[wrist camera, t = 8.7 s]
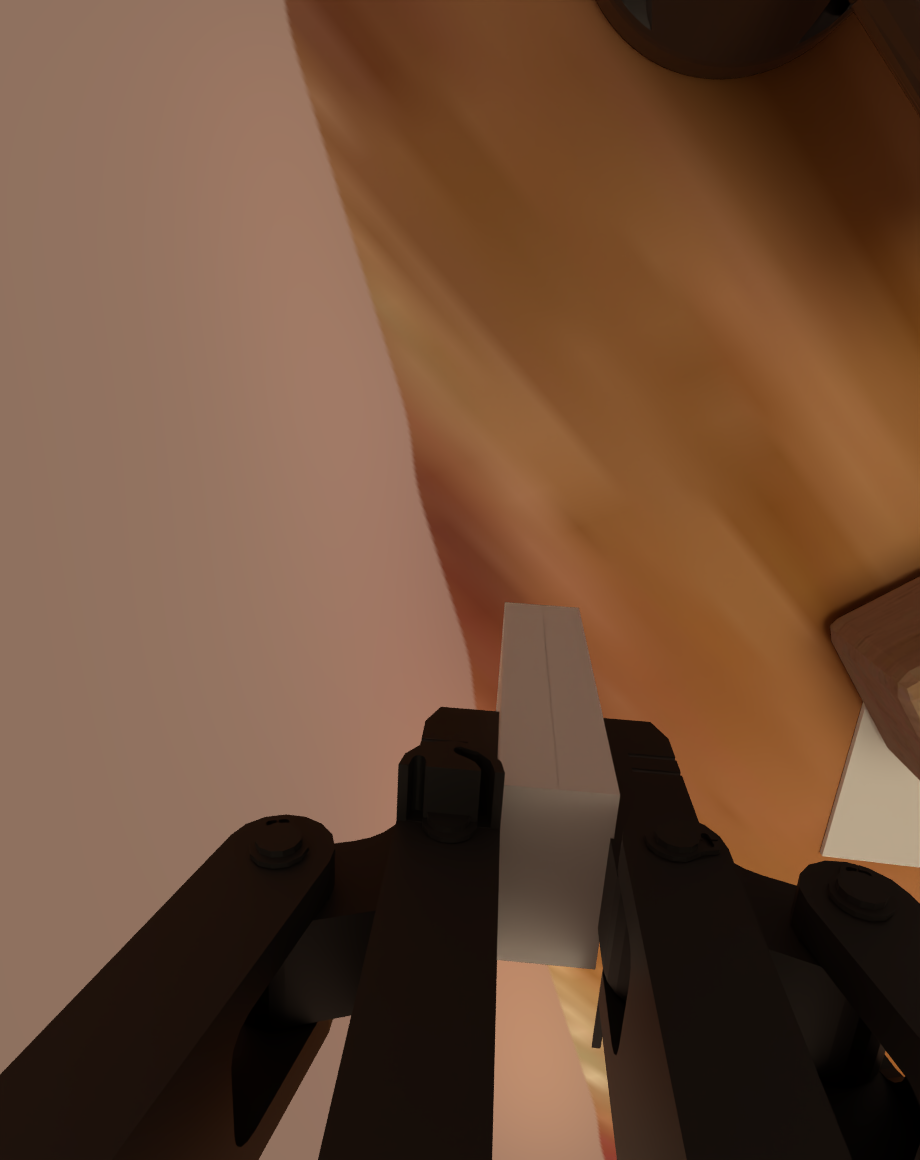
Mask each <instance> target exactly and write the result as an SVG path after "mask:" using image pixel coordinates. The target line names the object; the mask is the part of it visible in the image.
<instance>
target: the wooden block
mask: <svg viewBox="0 0 920 1160" xmlns="http://www.w3.org/2000/svg"><path fill="white" fill-rule="evenodd" d="M830 631H831V641H832V643H833V645H834V647H835V649H836V651H837V653H838V655H839V656H840V658H841V660H842V662H843V664H844V666H845V668H846V670H847V672H848V674H849V676H850V677H851V679H852V681H853V683H854V685H855V687H856V689H857V691H858V693H859V695H860V697H861V698H862V700H863V702H864V704H865V706H866V708H867V710H868V712H869V714H870V716H871V718H872V719H873V721H874V723H875V725H876V727H877V729H878V731H879V733H880V735H881V737H882V739H883V740H884V742H885V744H886V746H887V748H888V749H889V750H890V751H891V752H892V753H893V754H894V755H895V756H896V757H897V758H898V759H899V760H900V761H901V762H902V763H903V764H904V765H905V766H906V767H907V768H908V769H909V770H910V771H911V772H912V773H913V774H914V775H915V776H916V777H917V778H918V779H919V780H920V576H919V577H917V578H915V579H913V580H912V581H910V582H908V583H906V584H904V585H902V586H900V587H898V588H896V589H894V590H892V591H890V592H888V593H886V594H884V595H882V596H880V597H878V598H876V599H874V600H873V601H871V602H869V603H867V604H865V605H863V606H861V607H859V608H857V609H855V610H853V611H851V612H849V613H847V614H845V615H843V616H841V617H839V618H837V619H836V620H835V621H834V622H833V623H832V624H831V625H830Z"/></svg>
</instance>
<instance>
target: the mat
mask: <svg viewBox="0 0 920 1160" xmlns="http://www.w3.org/2000/svg"><path fill="white" fill-rule="evenodd" d="M820 853H821V855H822V856H827V857H835V858H844V859H852V860H861V861H869V862H878V863H886V864H895V865H903V866H912V867H920V780H919V779H918V778H917V777H916V776H915V775H914V774H913V773H912V772H911V771H910V770H909V769H908V768H907V767H906V766H905V765H904V764H903V763H902V762H901V761H900V760H899V759H898V758H897V757H896V756H895V755H894V754H893V753H892V752H891V751H890V750H889V749H888V748H887V746H886V744H885V742H884V740H883V739H882V737H881V735H880V733H879V731H878V729H877V727H876V725H875V723H874V721H873V719H872V718H871V716H870V714H869V712H868V710H867V708H866V706H865V704H864V702H863V704H862V708H861V711H860V714H859V718H858V721H857V725H856V728H855V732H854V735H853V739H852V742H851V746H850V749H849V753H848V756H847V760H846V763H845V767H844V770H843V774H842V777H841V780H840V784H839V787H838V791H837V794H836V798H835V801H834V805H833V808H832V812H831V815H830V819H829V822H828V826H827V829H826V833H825V836H824V839H823V843H822V846H821V850H820Z"/></svg>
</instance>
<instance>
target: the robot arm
mask: <svg viewBox="0 0 920 1160" xmlns="http://www.w3.org/2000/svg"><path fill="white" fill-rule="evenodd" d="M596 1H597V3H598V5H599V7H600V8H601V10H602V12H603V13H604V15H605V16H606V18H607V19H608V21H609V22H610V23H611V25H612V26H613V27H614V28H615V30H616V31H617V32H618V33H619V34H620V35H621V36H622V37H623V39H624V40H625V41H627V42H628V43H629V44H630V45H631V46H632V47H633V48H634V49H636V50H637V51H638V52H640V53H641V54H642V55H644V56H645V57H647V58H648V59H650V60H651V61H653V62H655V63H657V64H659V65H661V66H663V67H665V68H667V69H670V70H672V71H675V72H678V73H681V74H684V75H689V76H693V77H699V78H706V79H731V78H740V77H745V76H750V75H755V74H758V73H762V72H765V71H768V70H771V69H773V68H776V67H778V66H781V65H783V64H785V63H787V62H789V61H791V60H793V59H795V58H796V57H798V56H800V55H801V54H803V53H805V52H806V51H808V50H809V49H811V48H812V47H813V46H815V45H816V44H817V43H819V42H820V41H821V40H823V39H824V38H825V37H826V36H827V35H828V34H830V33H831V32H832V31H833V30H834V29H835V28H836V27H837V26H838V25H840V24H841V23H842V22H843V21H844V20H845V19H846V18H847V17H848V16H849V15H850V14H851V13H852V12H853V11H854V13H855V15H856V16H857V18H858V19H859V21H860V23H861V24H862V26H863V27H864V29H865V31H866V32H867V34H868V35H869V37H870V39H871V40H872V42H873V43H874V45H875V47H876V48H877V50H878V51H879V53H880V55H881V56H882V58H883V59H884V61H885V63H886V64H887V66H888V67H889V69H890V71H891V72H892V74H893V75H894V77H895V79H896V80H897V82H898V83H899V85H900V86H901V88H902V90H903V91H904V93H905V94H906V96H907V98H908V99H909V101H910V102H911V104H912V106H913V107H914V109H915V110H916V112H917V114H918V115H919V117H920V0H596ZM397 798H398V799H397V821H396V824H395V825H394V826H393V827H391V828H390V829H388V830H387V831H385V832H383V833H381V834H378V835H376V836H373V837H371V838H367V839H362V840H357V841H351V842H343V843H336V844H334V841H333V836H332V834H331V833H330V832H329V831H328V830H327V829H326V828H325V827H324V825H322V824H321V823H319V822H317V821H314V820H312V819H309V818H307V817H302V816H294V815H278V816H271V817H264V818H261V819H259V820H256V821H253V822H251V823H248V824H245V825H244V826H243V827H241V828H240V829H239V830H237V831H236V832H234V833H233V834H232V835H231V836H230V837H229V838H228V839H227V840H226V841H225V842H224V843H223V844H222V845H221V846H220V847H219V848H218V849H217V850H216V851H215V852H214V853H213V854H212V855H211V856H210V857H209V858H208V859H207V860H206V861H205V863H204V864H203V865H202V866H201V867H200V868H199V869H198V870H197V871H196V872H195V873H194V874H193V875H192V876H191V877H190V878H189V879H188V880H187V881H186V882H185V883H184V884H183V885H182V886H181V888H179V890H178V891H177V892H176V893H175V894H174V895H173V896H172V897H171V898H170V899H169V900H168V901H167V902H166V903H165V904H164V905H163V906H162V907H161V908H160V909H159V910H158V911H157V912H156V913H155V915H154V916H153V917H152V918H151V919H150V920H149V921H148V922H147V923H146V924H145V925H144V926H143V927H142V928H141V929H140V930H139V931H138V932H137V933H136V934H135V935H134V936H133V937H132V938H131V939H130V941H128V942H127V943H126V945H125V946H124V947H123V948H122V949H121V950H120V951H119V952H118V953H117V954H116V955H115V956H114V957H113V958H112V959H111V960H110V961H109V962H108V963H107V964H106V965H105V966H104V967H103V968H102V969H101V970H100V972H99V973H98V974H97V975H96V976H95V977H94V978H93V979H92V980H91V981H90V982H89V983H88V984H87V985H86V986H85V987H84V988H83V989H82V990H81V991H80V992H79V993H78V994H77V995H76V996H75V997H74V999H73V1000H72V1001H71V1002H70V1003H69V1004H68V1005H67V1006H66V1007H65V1008H64V1009H63V1010H62V1011H61V1012H60V1013H59V1014H58V1015H57V1016H56V1017H55V1018H54V1019H53V1020H52V1021H51V1022H50V1023H49V1024H48V1026H47V1027H46V1028H45V1029H44V1030H43V1031H42V1032H41V1033H40V1034H39V1035H38V1036H37V1037H36V1038H35V1039H34V1040H33V1041H32V1042H31V1043H30V1044H29V1045H28V1046H27V1047H26V1048H25V1049H24V1050H23V1052H22V1053H21V1054H20V1055H19V1056H18V1057H17V1058H16V1059H15V1060H14V1061H13V1062H12V1063H11V1064H10V1065H9V1066H8V1067H7V1068H6V1069H5V1070H4V1071H3V1072H2V1073H1V1074H0V1160H259V1158H260V1156H261V1154H262V1152H263V1151H264V1148H265V1147H266V1145H267V1143H268V1141H269V1139H270V1138H271V1136H272V1134H273V1132H274V1131H275V1129H276V1127H277V1125H278V1123H279V1122H280V1120H281V1118H282V1116H283V1114H284V1113H285V1111H286V1109H287V1107H288V1105H289V1104H290V1102H291V1100H292V1098H293V1096H294V1095H295V1093H296V1091H297V1089H298V1087H299V1085H300V1084H301V1082H302V1080H303V1078H304V1076H305V1075H306V1073H307V1071H308V1069H309V1067H310V1066H311V1064H312V1062H313V1060H314V1058H315V1056H316V1055H317V1053H318V1051H319V1049H320V1047H321V1046H322V1044H323V1042H324V1040H325V1038H326V1037H327V1035H328V1033H329V1030H330V1027H331V1023H332V1020H333V1019H334V1018H339V1017H345V1016H350V1015H351V1019H350V1024H349V1028H348V1032H347V1037H346V1041H345V1046H344V1050H343V1054H342V1059H341V1063H340V1067H339V1071H338V1076H337V1080H336V1084H335V1089H334V1093H333V1097H332V1102H331V1106H330V1111H329V1114H328V1119H327V1123H326V1127H325V1132H324V1136H323V1140H322V1145H321V1149H320V1153H319V1158H318V1160H492V1139H493V1099H494V1057H495V1016H496V976H497V960H504V961H515V962H525V963H536V964H545V965H555V966H566V967H576V968H586V969H595V967H596V960H597V953H598V946H599V942H600V950H601V957H602V965H603V972H602V978H601V985H600V992H599V999H598V1006H597V1012H596V1019H595V1026H594V1033H593V1041H592V1048H600V1047H601V1041H602V1037H603V1045H604V1054H605V1062H606V1071H607V1079H608V1088H609V1096H610V1104H611V1113H612V1121H613V1130H614V1138H615V1147H616V1155H617V1160H920V903H918V902H917V901H916V900H915V899H914V898H913V897H912V896H911V895H910V894H909V893H908V892H907V891H905V890H904V889H903V888H901V887H900V886H899V885H898V884H896V883H895V882H894V881H893V880H891V879H889V878H887V877H885V876H883V875H881V874H879V873H877V872H875V871H873V870H871V869H869V868H866V867H863V866H860V865H859V866H858V865H856V864H851V863H848V862H838V861H822V862H818V863H814V864H810V865H808V866H807V867H806V868H805V869H804V870H803V871H802V872H801V873H800V875H799V880H798V884H797V886H796V885H793V884H789V883H786V882H783V881H779V880H776V879H773V878H769V877H766V876H763V875H760V874H757V873H754V872H752V871H749V870H746V869H744V868H742V867H740V866H738V865H737V864H735V863H734V862H733V859H732V857H731V854H730V852H729V849H728V848H727V846H726V845H725V843H724V842H723V841H722V839H721V838H720V836H718V835H717V834H716V833H714V832H713V831H712V830H710V829H709V828H708V827H706V826H705V825H703V824H701V823H699V821H698V818H697V816H696V813H695V810H694V808H693V805H692V802H691V799H690V797H689V794H688V791H687V788H686V786H685V783H684V780H683V777H682V776H680V769H679V766H678V764H677V761H675V755H674V753H673V750H672V747H671V745H670V742H669V739H668V738H667V737H666V736H665V735H664V734H663V733H662V732H660V731H659V730H658V729H657V728H656V727H655V726H654V725H653V724H652V723H651V722H644V721H632V720H620V719H607V718H603V715H602V711H601V706H600V702H599V697H598V693H597V688H596V684H595V679H594V674H593V670H592V665H591V661H590V656H589V652H588V647H587V643H586V638H585V634H584V629H583V625H582V620H581V616H580V611H579V608H573V607H560V606H547V605H534V604H521V603H508V602H505V609H504V621H503V633H502V646H501V658H500V671H499V683H498V695H497V708H496V711H485V710H472V709H459V708H448V707H440V708H439V709H438V710H437V711H436V712H435V713H434V714H433V715H432V716H431V717H429V718H428V719H427V720H426V721H425V726H424V730H423V735H422V741H421V744H420V745H419V746H417V747H416V748H414V749H412V750H411V751H409V752H407V753H405V755H404V756H403V758H402V760H401V761H400V763H399V769H398V795H397ZM885 1051H887V1053H888V1054H889V1055H890V1057H891V1058H892V1059H893V1061H894V1062H895V1063H896V1065H897V1066H898V1067H899V1069H900V1070H901V1071H902V1072H903V1074H904V1075H905V1077H903V1076H902V1075H901V1074H900V1073H899V1072H898V1071H897V1070H896V1069H895V1067H894V1066H893V1065H892V1063H891V1062H890V1061H889V1060H888V1058H887V1057H886V1056H885Z"/></svg>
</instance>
